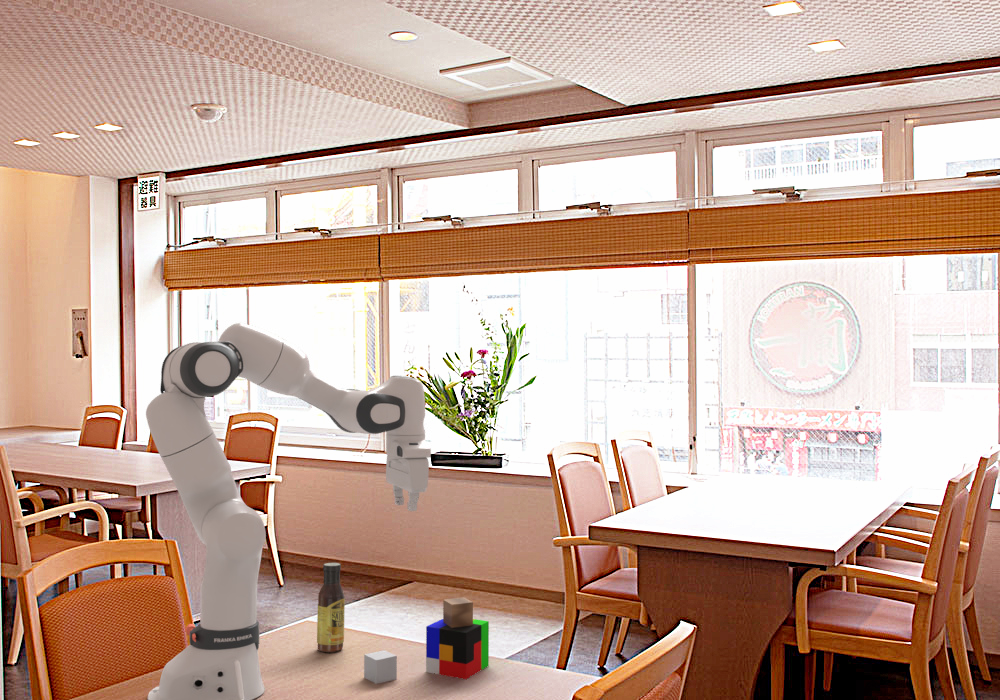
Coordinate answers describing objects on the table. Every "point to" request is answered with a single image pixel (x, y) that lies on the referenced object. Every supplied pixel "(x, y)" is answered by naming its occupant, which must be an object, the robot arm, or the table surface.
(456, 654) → the puzzle toy
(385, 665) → the grey block
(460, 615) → the walnut block
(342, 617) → the sauce bottle
